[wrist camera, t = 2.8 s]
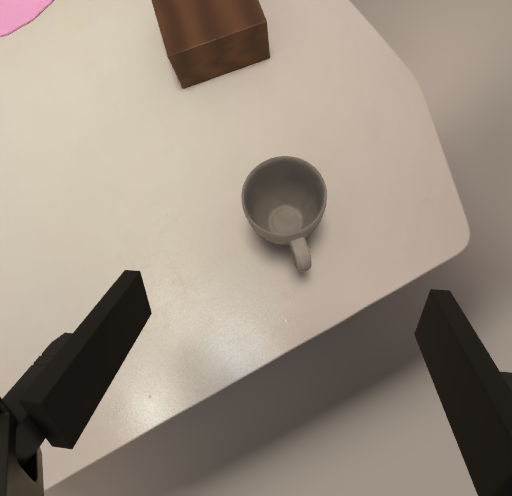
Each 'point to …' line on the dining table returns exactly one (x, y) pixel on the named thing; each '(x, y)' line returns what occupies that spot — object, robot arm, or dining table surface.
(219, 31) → the riser
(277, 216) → the mug
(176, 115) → the dining table surface
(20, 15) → the platter
